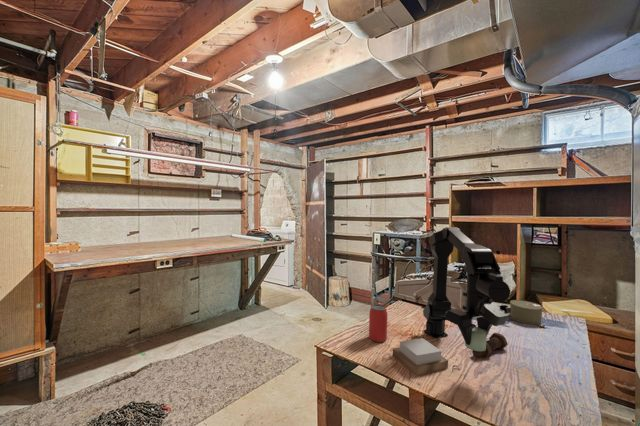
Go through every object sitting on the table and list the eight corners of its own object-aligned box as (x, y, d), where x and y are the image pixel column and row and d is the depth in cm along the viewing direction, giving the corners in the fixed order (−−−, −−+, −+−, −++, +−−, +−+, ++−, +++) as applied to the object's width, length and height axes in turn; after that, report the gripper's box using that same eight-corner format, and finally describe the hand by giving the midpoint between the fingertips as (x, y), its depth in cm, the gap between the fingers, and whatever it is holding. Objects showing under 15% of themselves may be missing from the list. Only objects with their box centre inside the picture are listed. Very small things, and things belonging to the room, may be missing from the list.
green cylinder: (473, 340, 90) (474, 324, 90) (490, 349, 85) (490, 332, 85) (460, 343, 88) (461, 327, 88) (476, 352, 83) (477, 335, 83)
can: (504, 313, 139) (505, 298, 138) (533, 315, 136) (534, 301, 136) (516, 323, 127) (517, 307, 127) (547, 326, 124) (548, 310, 124)
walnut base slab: (421, 351, 102) (421, 342, 102) (447, 369, 91) (448, 360, 91) (392, 357, 98) (392, 348, 98) (416, 377, 87) (417, 367, 86)
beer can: (386, 343, 106) (387, 311, 105) (368, 341, 107) (369, 309, 106) (386, 335, 112) (387, 305, 112) (369, 333, 113) (369, 303, 113)
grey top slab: (422, 346, 99) (422, 337, 99) (441, 360, 91) (441, 351, 91) (399, 350, 96) (399, 341, 96) (416, 365, 88) (417, 355, 88)
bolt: (473, 362, 98) (497, 349, 106) (486, 361, 94) (510, 348, 102) (465, 344, 100) (489, 333, 108) (478, 342, 96) (501, 331, 104)
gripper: (478, 303, 75) (475, 362, 75) (526, 296, 82) (524, 350, 82) (444, 290, 85) (442, 343, 86) (490, 285, 92) (488, 333, 93)
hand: (475, 342), depth 86 cm, fingers closed on green cylinder, 5 cm apart
